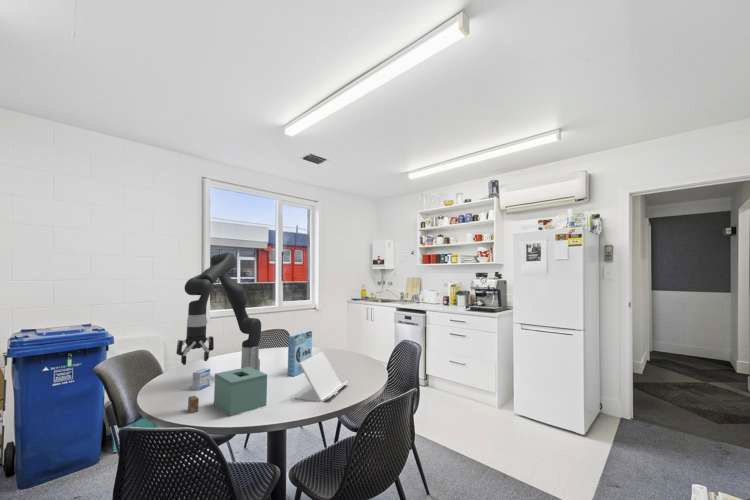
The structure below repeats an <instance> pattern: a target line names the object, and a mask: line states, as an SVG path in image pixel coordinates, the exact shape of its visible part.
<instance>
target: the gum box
mask: <svg viewBox="0 0 750 500" xmlns="http://www.w3.org/2000/svg"><path fill="white" fill-rule="evenodd" d="M312 336H313V331H311V330H306V331H301V332H298V333H293V334H291V335H288V339H287V340H288V343H287V345H288V346H287V347H288V348H287V349H288V352H287V376H288V377H289V376H290V377H296V376H298V375H300V374H301V373H304V372H303V370H302V368H301V367H300V365H299V363H301V362H302V361H304V360H306V359H308V358H310V357H312V354H313V352H312V351H313V345H312V344H313V343H312V342H313V341H312V340H313V337H312Z"/></svg>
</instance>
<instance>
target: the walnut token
mask: <svg viewBox="0 0 750 500" xmlns="http://www.w3.org/2000/svg"><path fill="white" fill-rule="evenodd" d="M187 399H188V401H187V410H188V411H189V413H191V414H194V413H197V412H199V400H200V398H199V397H197V396H196V395H189V396H188V398H187Z"/></svg>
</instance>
